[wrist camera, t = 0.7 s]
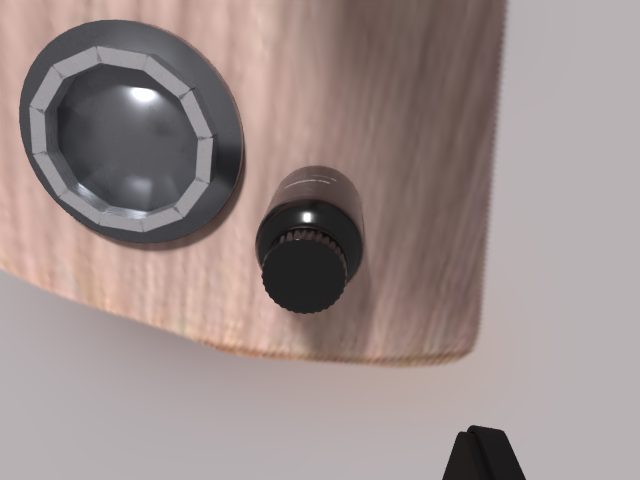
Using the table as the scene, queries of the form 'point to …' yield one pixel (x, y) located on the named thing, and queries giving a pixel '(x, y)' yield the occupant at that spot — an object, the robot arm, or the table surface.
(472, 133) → the table surface
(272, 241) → the supplement bottle
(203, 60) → the rosette plate
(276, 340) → the table surface
